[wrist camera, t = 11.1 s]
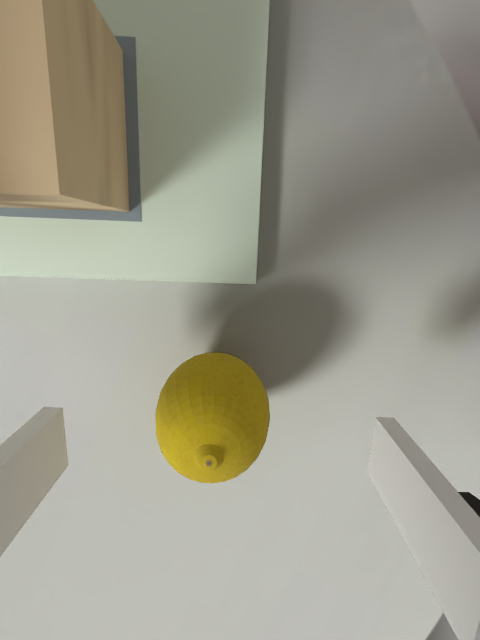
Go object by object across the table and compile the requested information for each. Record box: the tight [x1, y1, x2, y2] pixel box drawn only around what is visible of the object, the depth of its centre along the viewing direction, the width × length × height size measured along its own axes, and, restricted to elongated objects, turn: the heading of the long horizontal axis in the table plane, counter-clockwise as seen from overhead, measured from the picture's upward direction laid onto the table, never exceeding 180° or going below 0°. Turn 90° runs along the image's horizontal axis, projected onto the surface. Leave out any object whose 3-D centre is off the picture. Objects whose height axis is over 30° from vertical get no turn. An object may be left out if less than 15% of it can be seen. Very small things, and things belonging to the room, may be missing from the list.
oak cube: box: [0, 0, 130, 212], centre depth 12 cm, size 7×7×7 cm
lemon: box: [156, 352, 270, 483], centre depth 17 cm, size 6×6×8 cm
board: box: [0, 0, 270, 284], centre depth 16 cm, size 20×14×1 cm
